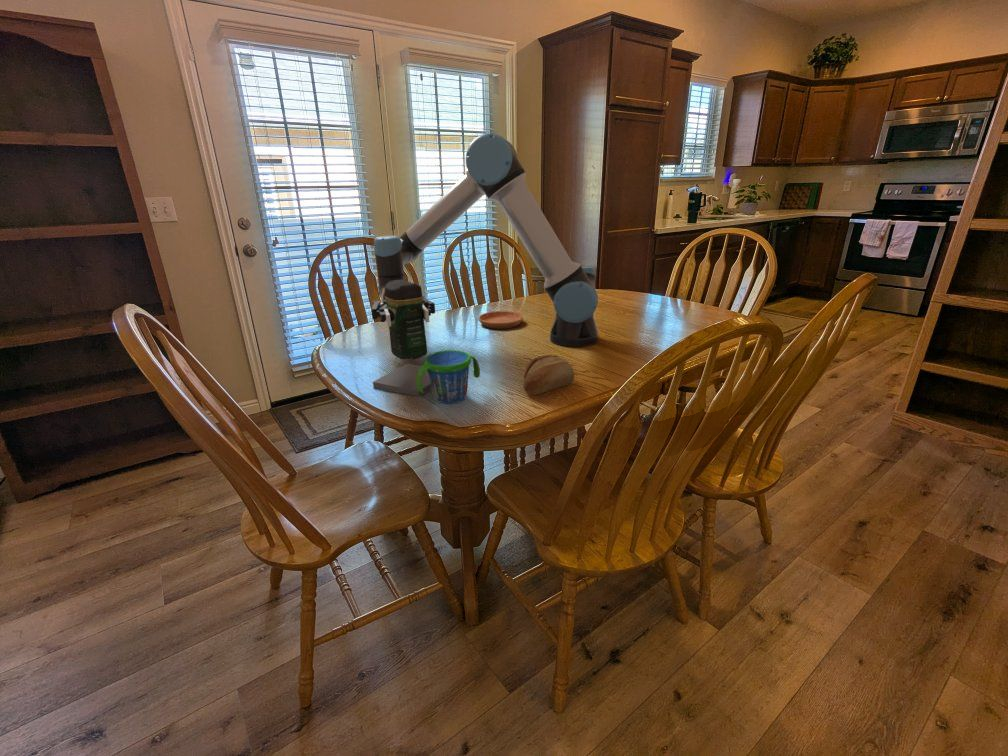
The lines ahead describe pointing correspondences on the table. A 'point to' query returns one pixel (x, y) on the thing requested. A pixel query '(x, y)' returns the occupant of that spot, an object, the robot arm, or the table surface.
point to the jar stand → (404, 381)
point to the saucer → (500, 319)
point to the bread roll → (547, 374)
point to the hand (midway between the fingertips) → (408, 318)
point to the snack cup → (448, 374)
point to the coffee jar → (406, 319)
